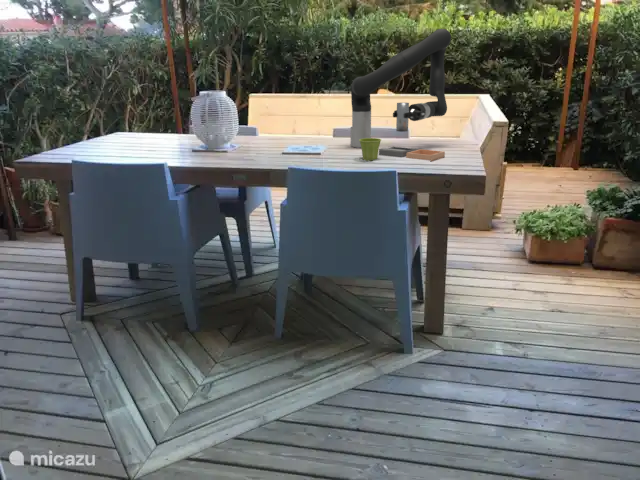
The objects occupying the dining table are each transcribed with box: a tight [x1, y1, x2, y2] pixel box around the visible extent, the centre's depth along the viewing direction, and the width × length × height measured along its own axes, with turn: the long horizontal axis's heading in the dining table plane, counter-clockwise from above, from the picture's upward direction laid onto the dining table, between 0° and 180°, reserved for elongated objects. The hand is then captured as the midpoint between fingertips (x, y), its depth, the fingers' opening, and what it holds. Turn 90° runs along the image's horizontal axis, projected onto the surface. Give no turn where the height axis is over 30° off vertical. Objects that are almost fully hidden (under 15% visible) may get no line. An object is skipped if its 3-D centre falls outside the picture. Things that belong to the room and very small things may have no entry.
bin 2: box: [405, 148, 446, 163], centre depth 235 cm, size 12×12×3 cm
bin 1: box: [378, 146, 417, 158], centre depth 244 cm, size 12×12×3 cm
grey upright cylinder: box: [395, 102, 410, 133], centre depth 239 cm, size 5×5×12 cm
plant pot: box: [359, 137, 382, 162], centre depth 234 cm, size 9×9×9 cm
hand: (399, 115), depth 237 cm, fingers closed on grey upright cylinder, 5 cm apart
